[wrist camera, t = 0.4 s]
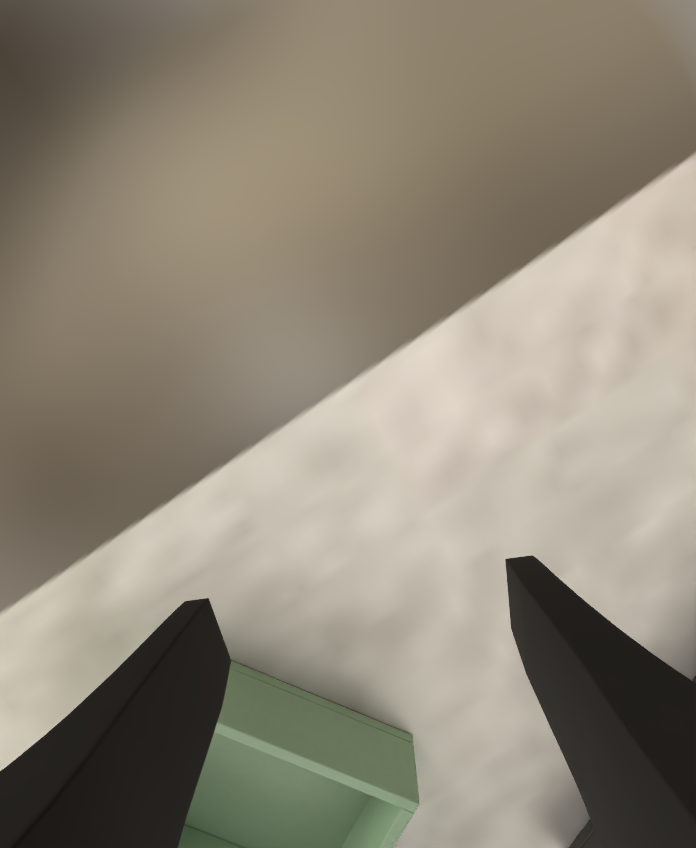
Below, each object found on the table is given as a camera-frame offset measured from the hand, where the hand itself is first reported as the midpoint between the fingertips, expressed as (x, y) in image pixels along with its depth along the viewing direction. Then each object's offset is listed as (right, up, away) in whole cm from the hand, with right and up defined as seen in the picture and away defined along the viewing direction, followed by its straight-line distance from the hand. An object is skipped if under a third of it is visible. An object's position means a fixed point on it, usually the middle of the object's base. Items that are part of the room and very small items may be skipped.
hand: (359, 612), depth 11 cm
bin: (-5, -14, +14) cm, 20 cm away
